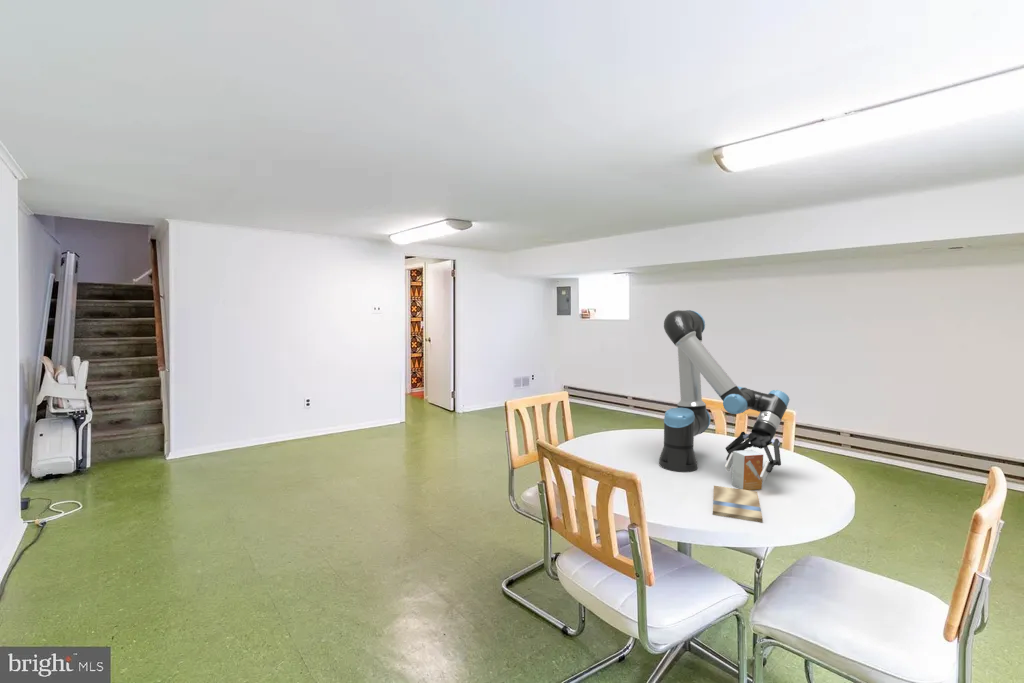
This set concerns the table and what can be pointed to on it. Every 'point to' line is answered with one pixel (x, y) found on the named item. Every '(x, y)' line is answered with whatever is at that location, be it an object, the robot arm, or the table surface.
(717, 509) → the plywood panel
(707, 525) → the table surface
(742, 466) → the small box
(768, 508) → the table surface
